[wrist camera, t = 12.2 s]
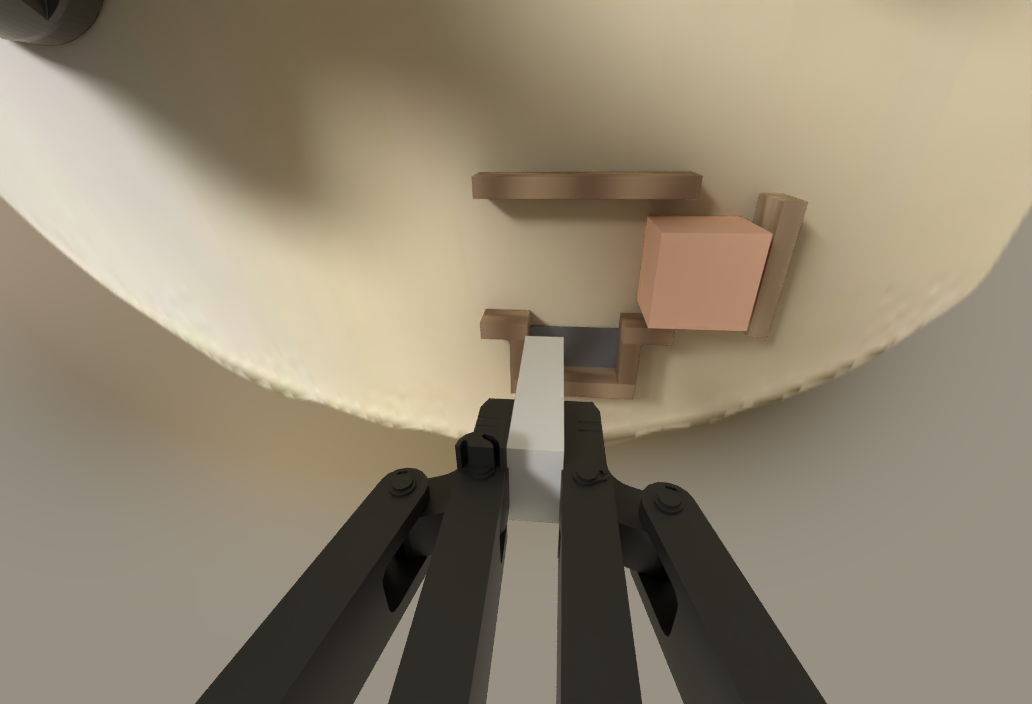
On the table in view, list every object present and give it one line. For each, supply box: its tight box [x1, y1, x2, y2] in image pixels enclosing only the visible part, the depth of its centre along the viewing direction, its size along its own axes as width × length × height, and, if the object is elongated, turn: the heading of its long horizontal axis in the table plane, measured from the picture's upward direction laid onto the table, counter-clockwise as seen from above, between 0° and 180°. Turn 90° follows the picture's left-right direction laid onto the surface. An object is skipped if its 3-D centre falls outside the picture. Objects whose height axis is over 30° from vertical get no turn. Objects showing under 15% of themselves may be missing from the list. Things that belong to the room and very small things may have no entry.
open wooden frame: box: [472, 172, 808, 399], centre depth 35 cm, size 23×18×4 cm
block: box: [637, 216, 773, 331], centre depth 32 cm, size 7×7×6 cm
